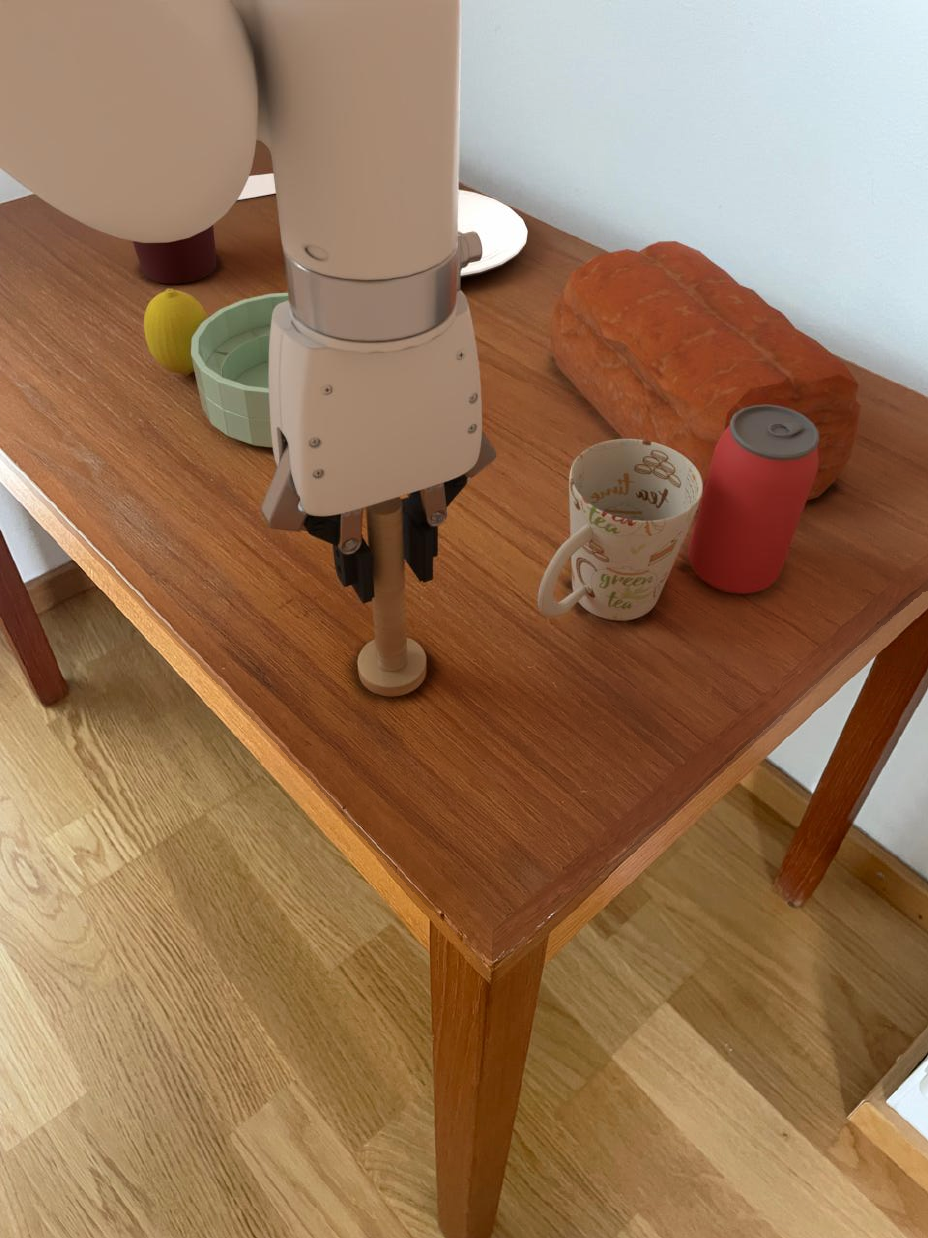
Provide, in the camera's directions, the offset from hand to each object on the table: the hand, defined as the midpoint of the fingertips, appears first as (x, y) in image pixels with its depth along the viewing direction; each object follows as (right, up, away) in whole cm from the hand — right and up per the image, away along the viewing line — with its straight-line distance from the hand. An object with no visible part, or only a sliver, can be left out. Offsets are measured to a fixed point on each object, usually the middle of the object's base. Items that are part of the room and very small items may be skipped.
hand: (387, 574), depth 56 cm
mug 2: (+14, -2, +11) cm, 17 cm away
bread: (+23, +15, +26) cm, 38 cm away
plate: (+1, +37, +47) cm, 60 cm away
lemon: (-20, +19, +29) cm, 40 cm away
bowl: (-10, +16, +27) cm, 33 cm away
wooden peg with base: (0, -6, +6) cm, 9 cm away
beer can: (+24, +1, +14) cm, 28 cm away
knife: (-21, +46, +55) cm, 75 cm away
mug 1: (-25, +34, +43) cm, 61 cm away
